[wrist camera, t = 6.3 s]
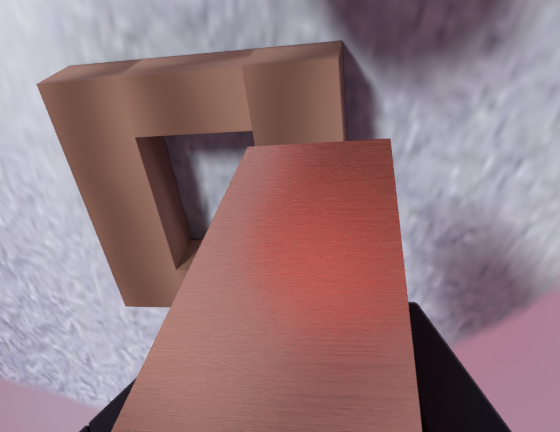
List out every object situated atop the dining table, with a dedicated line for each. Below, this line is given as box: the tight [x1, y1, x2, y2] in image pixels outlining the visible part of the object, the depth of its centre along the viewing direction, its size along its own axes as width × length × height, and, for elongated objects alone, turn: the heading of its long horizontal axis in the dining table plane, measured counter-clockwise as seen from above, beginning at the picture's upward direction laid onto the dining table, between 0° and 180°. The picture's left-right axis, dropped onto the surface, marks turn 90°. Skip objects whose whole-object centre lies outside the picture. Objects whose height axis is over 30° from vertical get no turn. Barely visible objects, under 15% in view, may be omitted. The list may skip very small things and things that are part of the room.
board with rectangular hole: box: [37, 41, 348, 307], centre depth 22 cm, size 12×12×2 cm
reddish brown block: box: [111, 139, 422, 432], centre depth 8 cm, size 3×5×8 cm, turn 7°
